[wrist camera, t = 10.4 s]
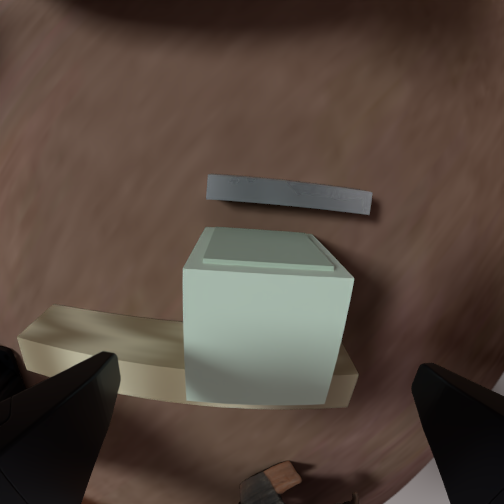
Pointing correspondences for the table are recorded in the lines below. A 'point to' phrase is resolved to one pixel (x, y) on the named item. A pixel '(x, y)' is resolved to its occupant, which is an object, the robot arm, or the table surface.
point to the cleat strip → (288, 193)
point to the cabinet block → (262, 317)
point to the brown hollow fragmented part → (274, 485)
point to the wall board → (140, 354)
